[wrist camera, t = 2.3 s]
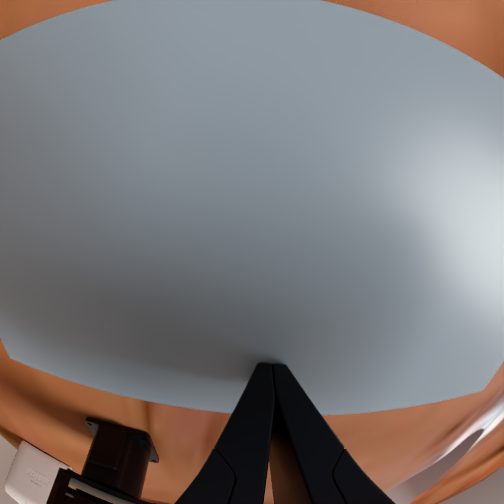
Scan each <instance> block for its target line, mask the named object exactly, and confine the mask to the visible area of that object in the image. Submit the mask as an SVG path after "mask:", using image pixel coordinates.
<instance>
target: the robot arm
mask: <svg viewBox="0 0 504 504" xmlns="http://www.w3.org/2000/svg"><path fill="white" fill-rule="evenodd" d="M85 423H86V425H87V426H88V428H89V430H90V431H91V433H92V434H93V436H94V439H93V441H92V444H91V447H90V450H89V452H88V455H87V458H86V461H85V464H84V467H83V470H82V473H81V475H79V474H77V473H75V472H73V470H71V469H69V468H67V470H66V469H63V468H60V467H59V470H58V473H57V476H56V478H55V481H54V484H53V486H52V489H51V492H50V494H49V497H48V500H47V502H46V504H113V503H115V504H155V503H149V502H146V501H143V500H140V499H141V494H142V489H143V485H144V480H145V476H146V471H147V467H148V462H154V463H158V462H159V457H158V455H157V452H156V450H155V447H154V445H153V442H152V440H151V437H150V435H148V434H146V433H142V432H138V431H134V430H130V429H126V428H122V427H118V426H114V425H111V424H107V423H104V422H100V421H97V420H94V419H91V418H86V420H85ZM268 462H269V463H270V472H271V481H272V489H273V498H274V504H395V503H394V502H393V501H392V500H391V499H390V498H389V497H388V496H387V495H386V494H385V493H384V492H383V491H382V490H381V489H380V488H379V487H378V486H377V485H376V484H375V483H374V482H373V481H372V480H371V479H370V478H369V477H368V476H367V475H366V474H365V473H364V472H363V470H362V469H361V468H360V467H359V465H358V464H357V463H356V462H355V460H354V459H353V458H352V457H351V455H350V454H349V452H348V451H347V450H346V449H344V446H343V444H342V443H341V442H340V440H339V439H338V437H337V436H336V435H335V433H334V432H333V431H332V429H331V428H330V426H329V425H328V424H327V422H326V421H325V419H324V418H323V417H322V415H321V414H320V412H319V411H318V409H317V408H316V407H315V405H314V404H313V402H312V401H311V400H310V398H309V397H308V395H307V394H306V392H305V391H304V389H303V388H302V387H301V385H300V384H299V382H298V381H297V379H296V378H295V376H294V375H293V374H292V372H291V371H290V369H289V368H288V366H287V365H286V364H280V363H273V364H272V365H271V363H263V362H259V363H257V365H256V367H255V369H254V371H253V373H252V375H251V377H250V379H249V381H248V383H247V385H246V387H245V389H244V391H243V393H242V395H241V397H240V399H239V401H238V403H237V405H236V407H235V409H234V411H233V413H232V414H231V416H230V418H229V420H228V422H227V424H226V426H225V428H224V430H223V432H222V434H221V435H220V437H219V439H218V441H217V443H216V445H215V447H214V449H213V450H212V452H211V453H210V455H209V457H208V459H207V461H206V462H205V464H204V465H203V467H202V469H201V470H200V472H199V473H198V475H197V476H196V477H195V479H194V480H193V481H192V483H191V484H190V485H189V487H188V488H187V489H186V490H185V492H184V493H183V494H182V495H181V496H180V498H179V499H178V500H177V501H176V502H175V503H174V504H263V502H264V495H265V487H266V479H267V471H268ZM69 483H70V484H72V485H74V486H76V487H78V488H80V489H82V490H84V491H86V492H88V493H86V492H84V491H82V490H80V489H78V488H76V490H74V489H72V488H70V487H68V485H69ZM89 493H91V494H93V495H95V496H98V497H100V498H102V499H100V498H98V497H95V496H93V495H91V494H89ZM103 499H105V500H107V501H105V500H103ZM108 501H110V502H112V503H110V502H108Z"/></svg>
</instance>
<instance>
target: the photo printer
mask: <svg viewBox="0 0 504 504" xmlns="http://www.w3.org/2000/svg"><path fill="white" fill-rule="evenodd" d="M59 467H60V468H63V469H66V470H67V468H69V469H71V470H73V469H72V468H71V467H70V466H68V465H66V464H64V463H62V462H60V461H58V460H56V459H54V458H52V457H51V456H49V455H47V454H45V453H44V452H42V451H40V450H39V449H37V448H35V447H34V446H32V445H30V444H29V443H27V442H26V441H24V440H23V441H22V442H21V444H20V446H19V448H18V451H17V453H16V455H15V458H14V460H13V462H12V465H11V467H10V470H9V473H8V475H7V478H6V481H5V491H6V492H7V493H8V494H9V495H10V496H11V497H12V498H13V499H14V500H16V501H17V502H18V503H19V504H46V502H47V500H48V497H49V494H50V492H51V489H52V486H53V484H54V481H55V478H56V476H57V473H58V470H59Z"/></svg>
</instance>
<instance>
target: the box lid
mask: <svg viewBox="0 0 504 504" xmlns="http://www.w3.org/2000/svg"><path fill="white" fill-rule="evenodd" d="M0 338H1V340H2V343H3V345H4V347H5V349H6V351H7V353H8V355H9V357H10V358H11V359H13V360H16V361H18V362H20V363H23V364H25V365H28V366H30V367H33V368H35V369H38V370H40V371H43V372H46V373H48V374H51V375H54V376H57V377H60V378H63V379H66V380H69V381H72V382H75V383H78V384H81V385H85V386H88V387H92V388H95V389H99V390H102V391H106V392H110V393H114V394H118V395H122V396H126V397H131V398H135V399H140V400H144V401H149V402H155V403H160V404H165V405H171V406H177V407H184V408H191V409H198V410H206V411H215V412H225V413H233V411H234V409H235V407H236V405H237V403H238V401H239V399H240V397H241V395H242V393H243V391H244V389H245V387H246V385H247V383H248V381H249V379H250V377H251V375H252V373H253V371H254V369H255V367H256V365H257V363H259V362H263V363H271V365H272V364H273V363H280V364H286V365H287V366H288V368H289V369H290V371H291V372H292V374H293V375H294V376H295V378H296V379H297V381H298V382H299V384H300V385H301V387H302V388H303V389H304V391H305V392H306V394H307V395H308V397H309V398H310V400H311V401H312V402H313V404H314V405H315V407H316V408H317V409H318V411H319V412H320V414H321V415H341V414H355V413H367V412H376V411H385V410H393V409H400V408H406V407H413V406H418V405H424V404H429V403H434V402H439V401H444V400H448V399H453V398H457V397H461V396H465V395H469V394H473V393H476V392H480V391H483V390H484V388H485V387H486V386H487V384H488V383H489V382H490V380H491V379H492V377H493V376H494V375H495V373H496V372H497V370H498V369H499V367H500V366H501V364H502V363H503V361H504V78H502V77H501V76H499V75H498V74H496V73H495V72H493V71H492V70H490V69H489V68H487V67H486V66H484V65H482V64H481V63H479V62H478V61H476V60H474V59H473V58H471V57H469V56H467V55H466V54H464V53H462V52H460V51H458V50H456V49H455V48H453V47H451V46H449V45H447V44H445V43H443V42H441V41H439V40H437V39H435V38H432V37H430V36H428V35H426V34H424V33H421V32H419V31H417V30H414V29H412V28H409V27H407V26H404V25H402V24H399V23H397V22H394V21H391V20H388V19H386V18H383V17H380V16H377V15H374V14H370V13H367V12H364V11H361V10H357V9H354V8H350V7H346V6H342V5H338V4H334V3H330V2H325V1H320V0H113V1H109V2H104V3H100V4H96V5H92V6H88V7H85V8H81V9H77V10H74V11H71V12H68V13H65V14H61V15H58V16H56V17H53V18H50V19H47V20H45V21H42V22H39V23H37V24H34V25H32V26H29V27H27V28H25V29H22V30H20V31H18V32H16V33H14V34H11V35H9V36H7V37H5V38H3V39H1V40H0Z"/></svg>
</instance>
